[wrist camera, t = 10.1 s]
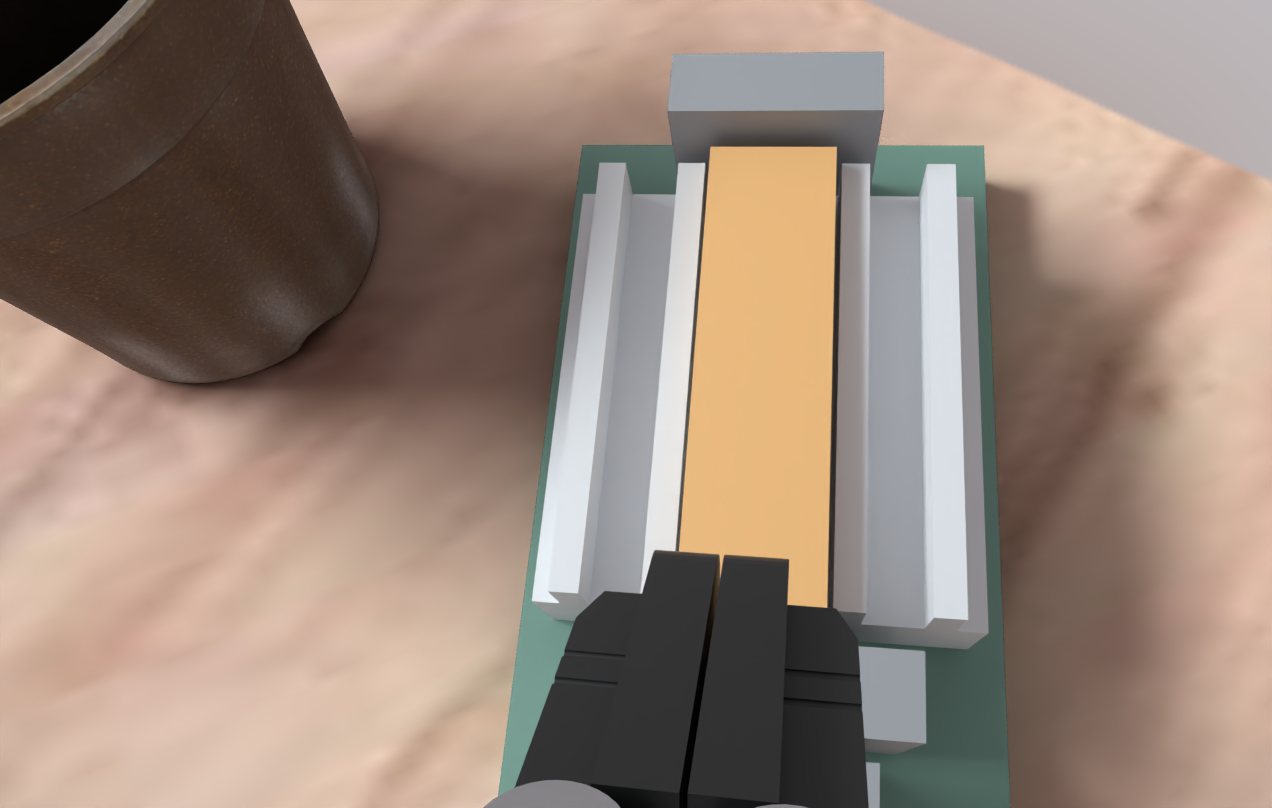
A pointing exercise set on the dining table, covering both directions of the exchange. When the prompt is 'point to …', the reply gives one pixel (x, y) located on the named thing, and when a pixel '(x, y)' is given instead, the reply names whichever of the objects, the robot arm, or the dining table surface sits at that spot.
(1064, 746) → the dining table surface
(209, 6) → the plant pot
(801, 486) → the retention strap
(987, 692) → the base
